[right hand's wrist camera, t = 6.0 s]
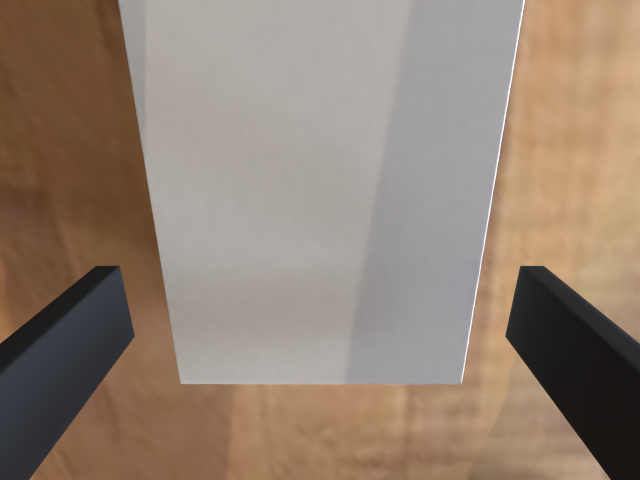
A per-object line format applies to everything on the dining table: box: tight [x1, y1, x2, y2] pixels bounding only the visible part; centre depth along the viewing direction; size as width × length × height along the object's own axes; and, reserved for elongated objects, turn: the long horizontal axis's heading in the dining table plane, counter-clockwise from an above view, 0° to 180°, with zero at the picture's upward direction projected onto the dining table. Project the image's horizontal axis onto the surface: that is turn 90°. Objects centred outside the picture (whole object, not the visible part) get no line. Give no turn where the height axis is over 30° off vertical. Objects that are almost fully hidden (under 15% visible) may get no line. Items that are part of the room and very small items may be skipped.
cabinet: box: [118, 0, 524, 384], centre depth 16 cm, size 19×11×8 cm, turn 0°
